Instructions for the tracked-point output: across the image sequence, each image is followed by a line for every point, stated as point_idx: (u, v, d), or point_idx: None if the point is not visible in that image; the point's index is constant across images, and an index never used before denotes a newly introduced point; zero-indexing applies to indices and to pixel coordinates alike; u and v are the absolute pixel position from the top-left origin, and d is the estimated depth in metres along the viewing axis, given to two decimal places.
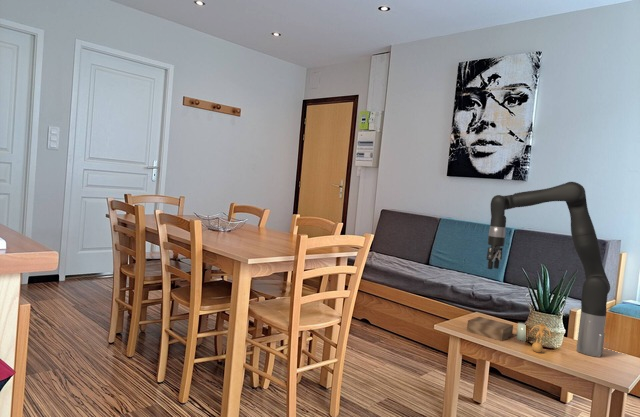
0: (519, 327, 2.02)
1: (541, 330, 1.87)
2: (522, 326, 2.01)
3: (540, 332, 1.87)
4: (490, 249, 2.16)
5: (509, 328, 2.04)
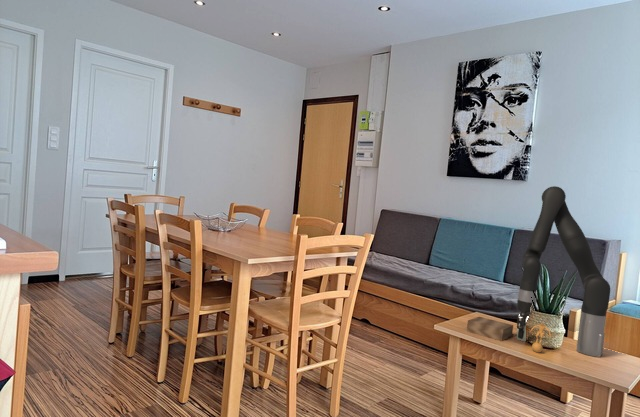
0: None
1: (541, 330, 1.87)
2: None
3: (540, 332, 1.87)
4: (520, 318, 1.98)
5: (509, 328, 2.04)
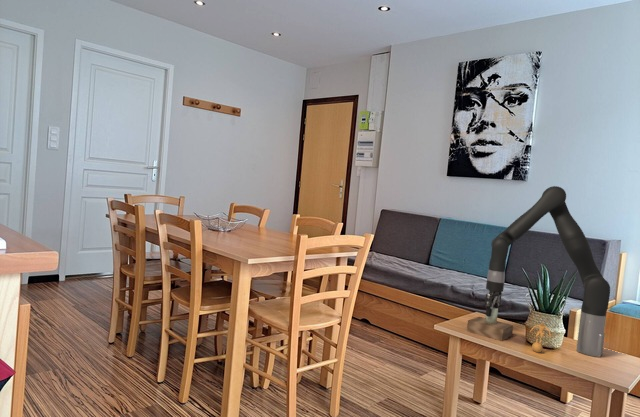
0: None
1: (541, 330, 1.87)
2: None
3: (540, 332, 1.87)
4: (488, 295, 2.02)
5: (509, 328, 2.04)
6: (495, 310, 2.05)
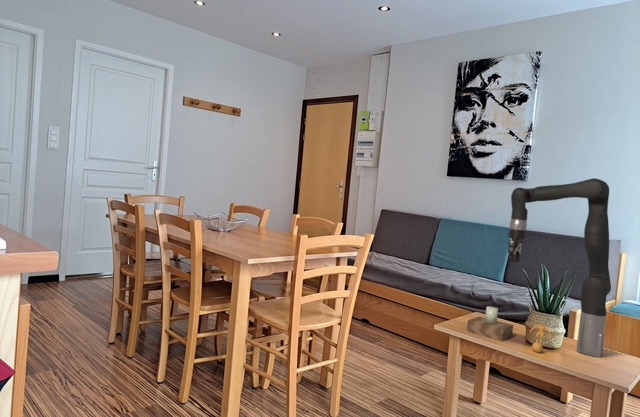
0: (487, 310, 2.07)
1: (541, 330, 1.87)
2: (490, 309, 2.06)
3: (540, 332, 1.87)
4: (511, 242, 2.14)
5: (509, 328, 2.04)
6: (495, 310, 2.05)
